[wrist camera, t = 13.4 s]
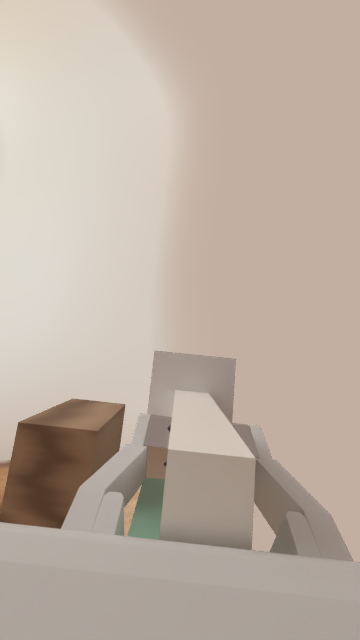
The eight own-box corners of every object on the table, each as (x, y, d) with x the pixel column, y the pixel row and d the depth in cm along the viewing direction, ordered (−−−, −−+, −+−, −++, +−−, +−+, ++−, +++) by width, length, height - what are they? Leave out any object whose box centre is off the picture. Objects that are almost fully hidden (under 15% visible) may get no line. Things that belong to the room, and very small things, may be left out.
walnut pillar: (-58, 808, 16) (18, 422, 19) (33, 632, 26) (72, 398, 29) (39, 821, 16) (97, 431, 19) (94, 639, 26) (125, 404, 29)
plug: (321, 566, 6) (322, 367, 6) (88, 541, 6) (116, 347, 6) (212, 402, 24) (216, 356, 25) (158, 397, 25) (163, 351, 25)
